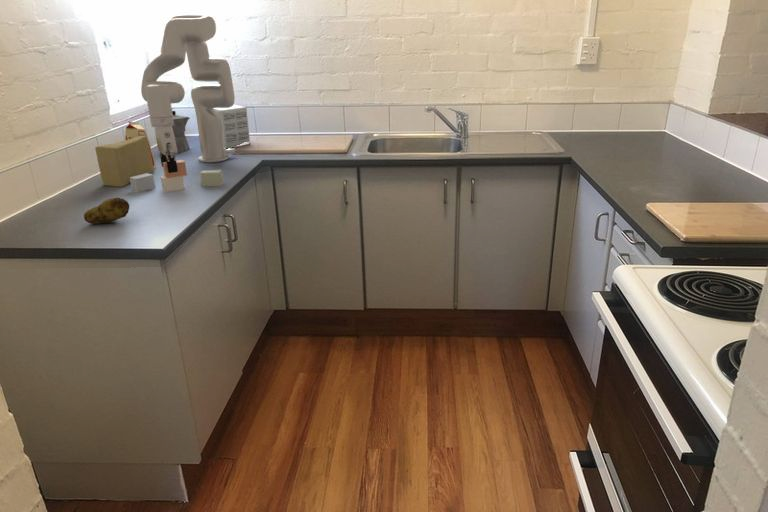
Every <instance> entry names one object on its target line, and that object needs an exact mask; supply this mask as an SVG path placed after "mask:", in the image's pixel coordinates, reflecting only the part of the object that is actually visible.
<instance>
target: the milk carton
mask: <svg viewBox="0 0 768 512" xmlns="http://www.w3.org/2000/svg"><path fill="white" fill-rule="evenodd" d="M138 136H146V138H147V141H148V145H149V149H150V153H151V157H152V163H153V170H154V169H156V168H157V164H156V161H155V156H154V154H153V150H152V145H151V142H150V140H149V137H148V134H147V132H146V129H145V128H144V127H142V125H140V122H139V121H137V122H135V121H134V122H133V121H130V120H128V125H126V127H125V139H124V141H125V140H128V139H132V138H135V137H138Z"/></svg>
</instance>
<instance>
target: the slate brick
mask: <svg viewBox="0 0 768 512" xmlns="http://www.w3.org/2000/svg"><path fill="white" fill-rule="evenodd" d="M130 187H131V191H133V192H137V193H140V192H144V191H148V190H152V189H155V188H156V184H155V178H154V174H152V173H150V174H148V173H146V174H142V175H138V176H133V177H130Z"/></svg>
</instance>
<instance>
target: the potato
mask: <svg viewBox="0 0 768 512" xmlns="http://www.w3.org/2000/svg"><path fill="white" fill-rule="evenodd" d="M129 210H130V204H129V202H128V201H127V200H126V199H125V198H121V197H113V198H108V199H106V200H104V201H103V202H101V203H100V204H99V205H97V206H95V207H93V208H90V209H88V210H86V211H85V212H84V214H83V218H84V219H83V220H84V221H85V222H87V224H88V223H89V224H92V225H96V224H108V223H110V224H111V223H113V222H116V221H117V220H119V219H120V220H121V219H122V218H125V217H126V216H127V215H128V214H129Z"/></svg>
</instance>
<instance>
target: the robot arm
mask: <svg viewBox="0 0 768 512" xmlns="http://www.w3.org/2000/svg"><path fill="white" fill-rule="evenodd" d="M216 33H217V23H216V21H215V19H214V17H213V16H212V15H210V14H200V13H199V14H198V13H197V14H196V13H195V14H189V13H187V14H186V13H185V14H182V13H181V14H175V15H172V16H170V18H169V20H167V21H166V23H165V24H164V30H163V35H162V39H161V40H162V41H161V47H160V53H159V55H157V56H156V57H154V59H152V61H151V62H150V63H148V65H147V66H146V68H145V69H144V72H143V74H142V81H141V86H140V87H141V88H140V91H141V92H140V93H141V96H142V98H143V100H144V101H145V102H146V104H147V109H148V114H149V122H150V126H151V128H154V133H155V134H154V135H155V139H156V145H157V149H158V152H159V156H160V157H159V158H160V162H161V167H162V168H163V163H162V162H167V168H168V172H169V173H173V172H178V169H177V163H176V160H177V159H176V156H175V155H177V154H178V153H179V152H178V151H177V146H176V141H175V136H174V132H173V128H172V126H173V125H174V121H173V114H172V111H173V110H172V104H179V103H181V102H182V101H183V100H184V98H185V94H186V93H185V88H184V87H183V85H182V83H180V82H178V81H174V80H173V81H172V80H171V81H170V80H169V81H165V80H164V81H163V80H158V79H159V78H160V77H161V76H163V75H164V74H165V73H167V72H170V71H172V70H174V69H177V68H179V67H181V66H182V65H184V63H185V60H186V57H187V62H188V67H189V72H190V75H191V78H192V79H193V81H196V82H201V83H202V84H197V85H194V86H193V87H192V89H191V90H190V98H191V101H192V104H193V107H194V110H195V111H194V112H195V115H196V116H195V117H196V122H197V130H198V138H199V145H200V146H199V147H200V152H201V155H200V156H198V161H199V162H201V163H217V162H218V163H220V162H224V161H227V160H228V159H229V154H235V153H236V148H228V149H226V148H224V147H223V139H222V131H221V122H220V117H219V115H218V114H217V112H216V111H215V110H214V109H213V108H229V107H232V106H233V105H235V99H236V97H235V89H234V84H233V77H232V72H231V71H232V70H231V66H230V64H229V62H228V60H227V59H225V58H224V57H221V56H219V57H217V56H214V57H213V56H210V54H209V49H208V48H209V47H208V45H207V44H208V43H207V41H209V40H211V39H213V38H214V36H215V35H216ZM203 82H210V83H207V84H206V83H203ZM211 82H212V83H211ZM214 82H215V83H216V82H217V84H215V83H214ZM213 83H214V84H213Z"/></svg>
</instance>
